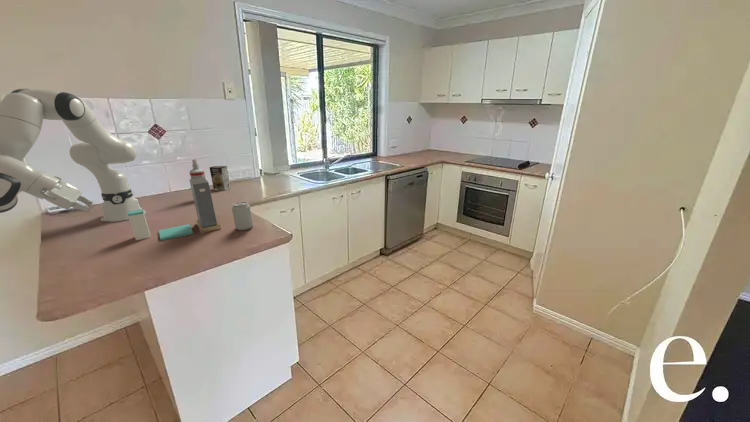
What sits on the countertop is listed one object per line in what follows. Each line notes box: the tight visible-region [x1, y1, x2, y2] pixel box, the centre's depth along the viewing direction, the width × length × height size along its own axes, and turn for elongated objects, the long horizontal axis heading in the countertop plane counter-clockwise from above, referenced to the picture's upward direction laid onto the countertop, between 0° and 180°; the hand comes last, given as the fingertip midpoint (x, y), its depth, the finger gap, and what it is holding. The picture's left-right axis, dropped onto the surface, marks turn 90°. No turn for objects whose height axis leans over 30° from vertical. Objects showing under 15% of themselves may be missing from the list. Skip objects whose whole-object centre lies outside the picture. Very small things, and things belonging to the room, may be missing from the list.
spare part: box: [128, 208, 151, 241], centre depth 129 cm, size 5×5×12 cm
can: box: [231, 201, 254, 231], centre depth 137 cm, size 8×8×12 cm
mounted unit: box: [189, 177, 222, 234], centre depth 138 cm, size 15×8×22 cm, turn 36°
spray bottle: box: [188, 158, 206, 179], centre depth 182 cm, size 8×8×25 cm
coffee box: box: [209, 165, 231, 191], centre depth 208 cm, size 9×6×16 cm
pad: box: [158, 223, 194, 241], centre depth 135 cm, size 12×12×1 cm
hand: (90, 207), depth 118 cm, fingers open, 8 cm apart
